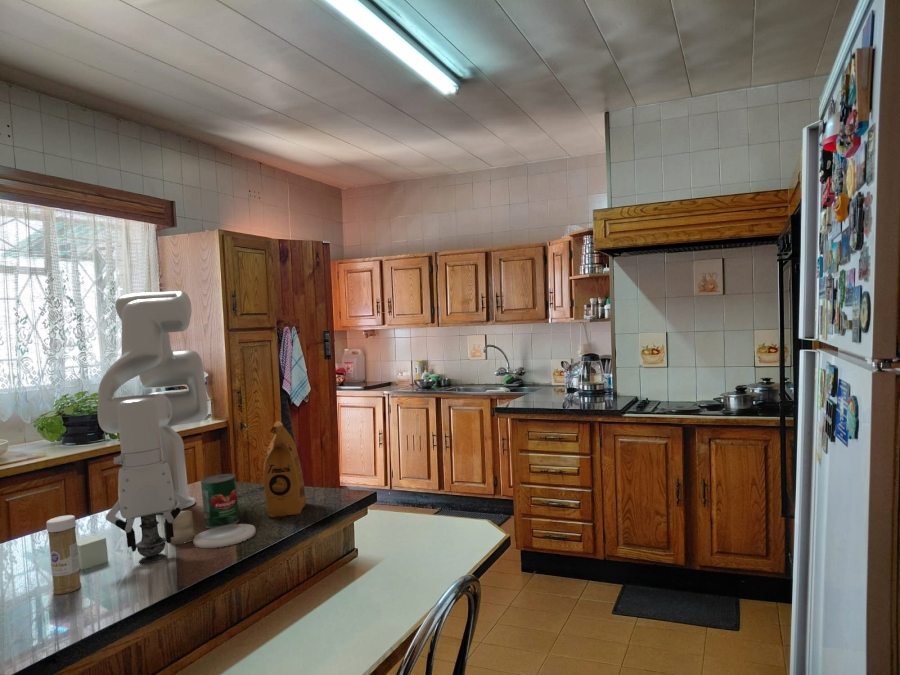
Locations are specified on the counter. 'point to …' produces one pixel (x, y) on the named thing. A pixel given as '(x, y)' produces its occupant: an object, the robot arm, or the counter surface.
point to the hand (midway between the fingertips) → (151, 544)
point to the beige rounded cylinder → (183, 528)
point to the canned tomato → (219, 500)
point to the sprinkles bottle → (64, 554)
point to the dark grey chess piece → (150, 541)
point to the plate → (224, 536)
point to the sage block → (92, 551)
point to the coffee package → (283, 475)
